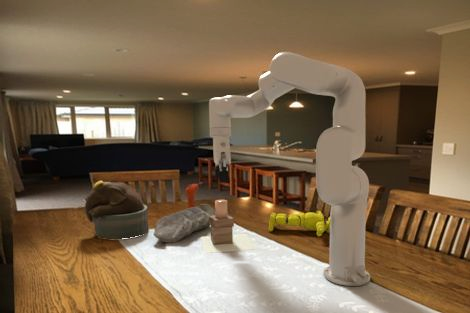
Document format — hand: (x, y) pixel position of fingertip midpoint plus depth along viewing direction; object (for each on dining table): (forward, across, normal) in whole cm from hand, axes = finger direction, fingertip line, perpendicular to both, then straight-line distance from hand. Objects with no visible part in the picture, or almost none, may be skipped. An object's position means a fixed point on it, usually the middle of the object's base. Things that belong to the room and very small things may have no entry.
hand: (221, 180), depth 132 cm
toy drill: (+22, +53, +6) cm, 58 cm away
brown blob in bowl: (+23, +23, +40) cm, 51 cm away
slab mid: (+20, +1, +1) cm, 20 cm away
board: (+23, -1, -1) cm, 23 cm away
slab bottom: (+22, +1, +1) cm, 23 cm away
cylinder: (+14, 0, 0) cm, 14 cm away
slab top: (+16, +1, +1) cm, 17 cm away
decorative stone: (+23, +16, +13) cm, 31 cm away
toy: (+24, +9, -36) cm, 44 cm away
